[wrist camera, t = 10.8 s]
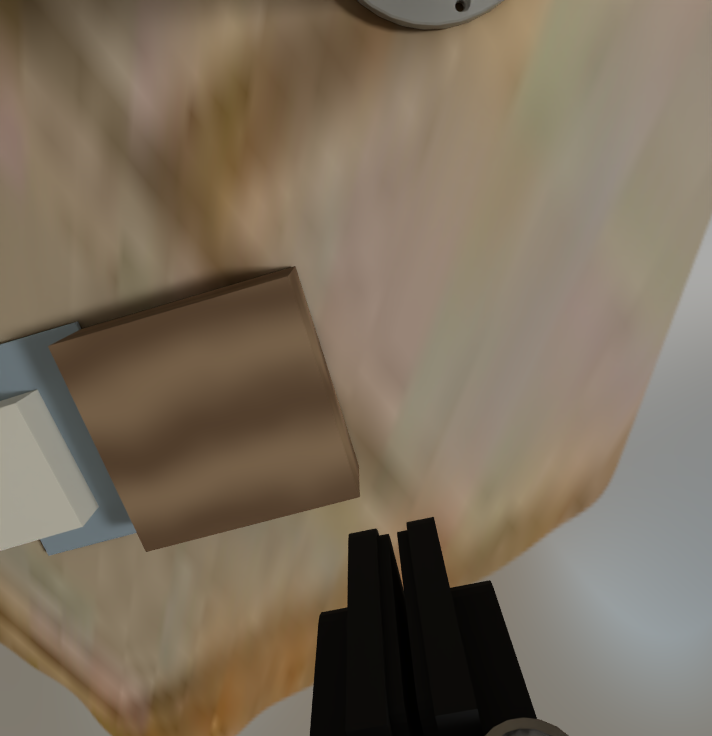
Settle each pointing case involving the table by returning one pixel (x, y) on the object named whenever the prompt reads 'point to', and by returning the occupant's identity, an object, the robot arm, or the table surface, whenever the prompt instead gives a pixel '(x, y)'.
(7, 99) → the table surface
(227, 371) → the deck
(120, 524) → the mat
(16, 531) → the white rectangular block
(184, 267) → the table surface
